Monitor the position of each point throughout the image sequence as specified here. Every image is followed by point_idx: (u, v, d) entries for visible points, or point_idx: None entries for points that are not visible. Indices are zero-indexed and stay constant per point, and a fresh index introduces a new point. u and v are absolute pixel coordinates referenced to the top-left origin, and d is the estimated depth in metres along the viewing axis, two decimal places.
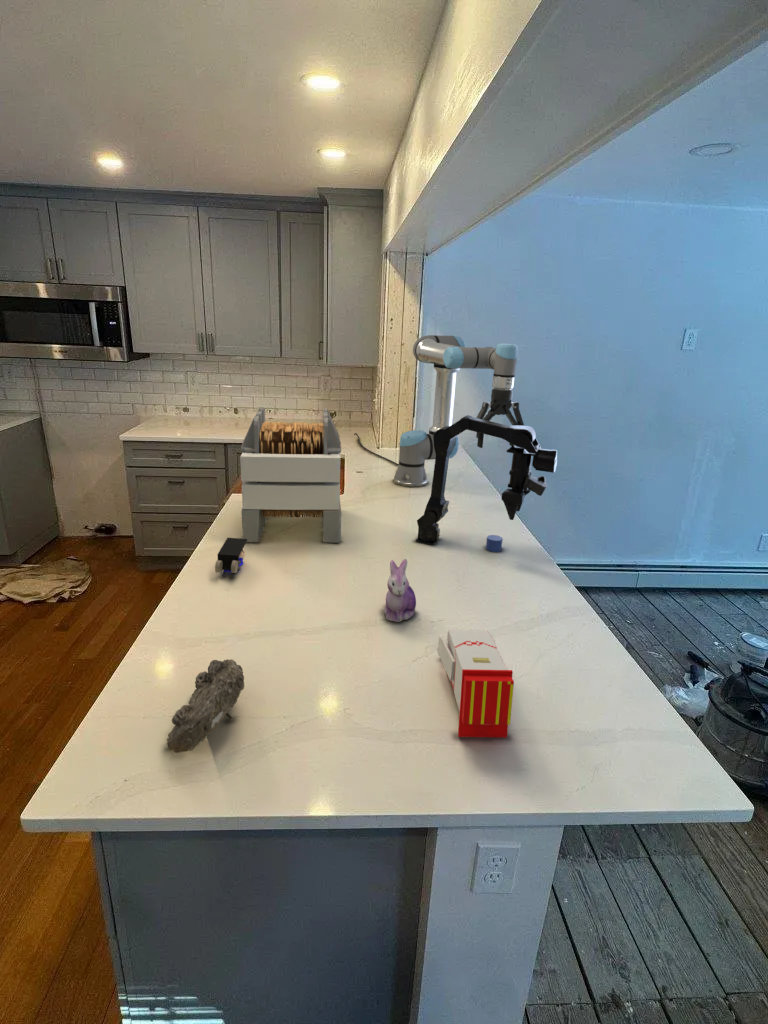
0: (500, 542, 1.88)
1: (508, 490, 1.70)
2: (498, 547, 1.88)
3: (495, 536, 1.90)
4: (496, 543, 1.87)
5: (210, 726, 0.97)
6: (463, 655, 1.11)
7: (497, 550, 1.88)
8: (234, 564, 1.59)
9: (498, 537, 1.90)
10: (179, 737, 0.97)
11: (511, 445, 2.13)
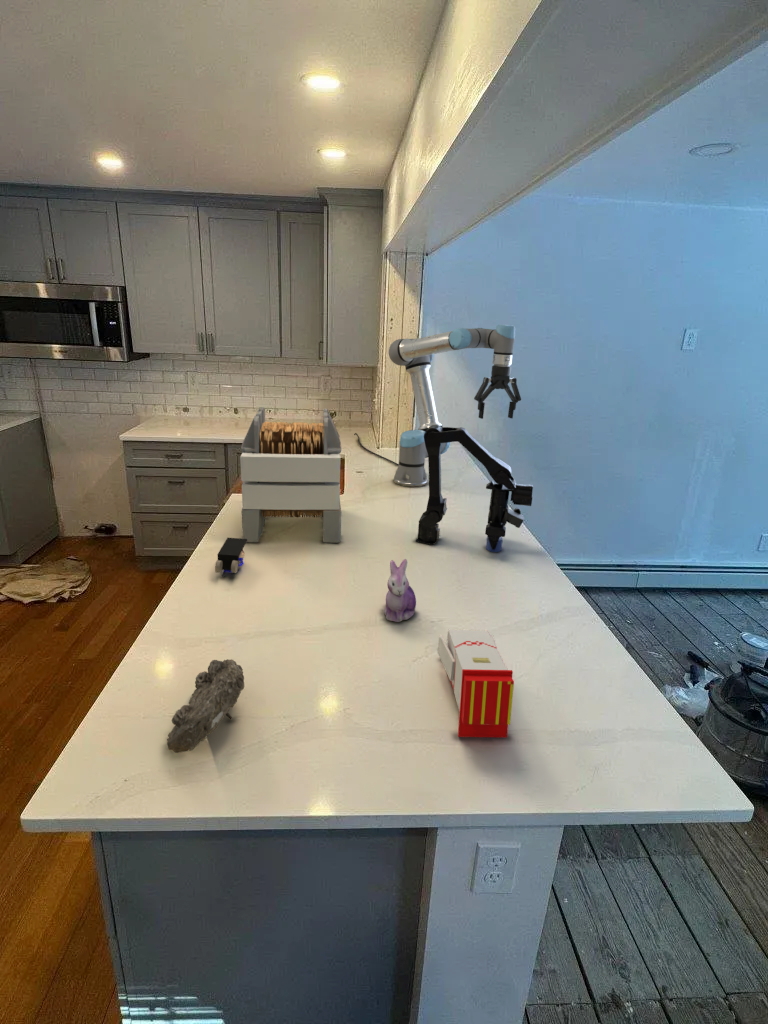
0: (500, 542, 1.88)
1: (491, 525, 1.80)
2: (498, 547, 1.88)
3: None
4: None
5: (210, 726, 0.97)
6: (463, 655, 1.11)
7: (497, 550, 1.88)
8: (234, 564, 1.59)
9: None
10: (179, 737, 0.97)
11: (509, 417, 2.37)
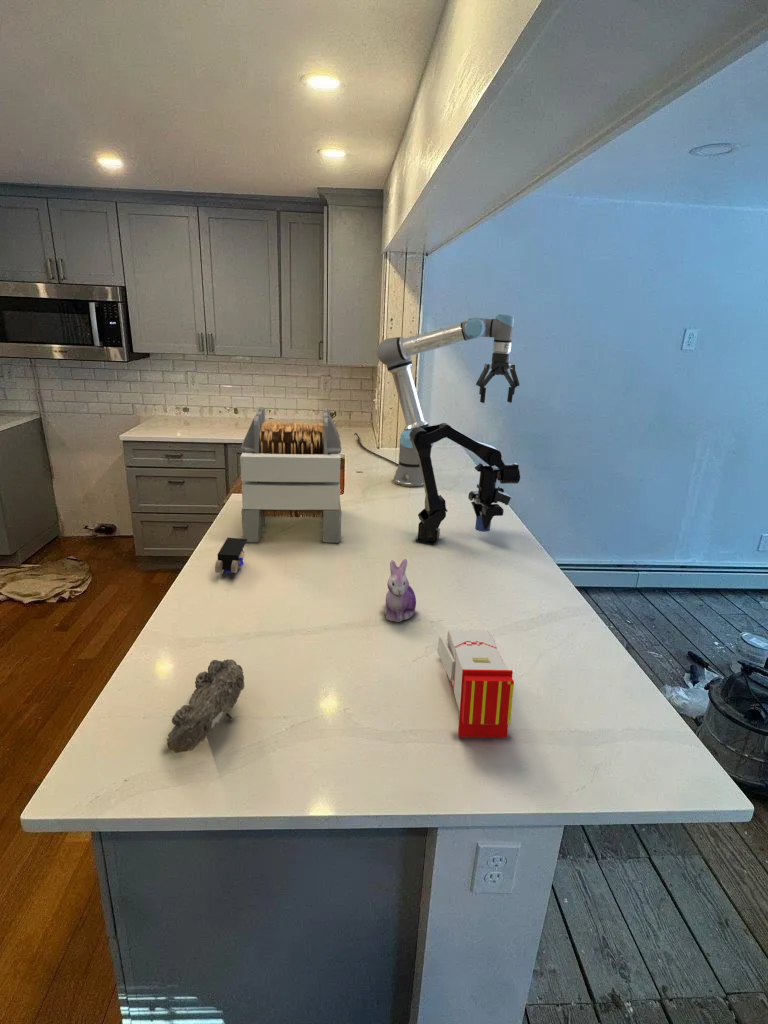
0: None
1: (489, 506, 1.86)
2: (489, 526, 1.95)
3: None
4: None
5: (210, 726, 0.97)
6: (463, 655, 1.11)
7: (488, 529, 1.95)
8: (234, 564, 1.59)
9: None
10: (179, 737, 0.97)
11: (509, 401, 2.52)
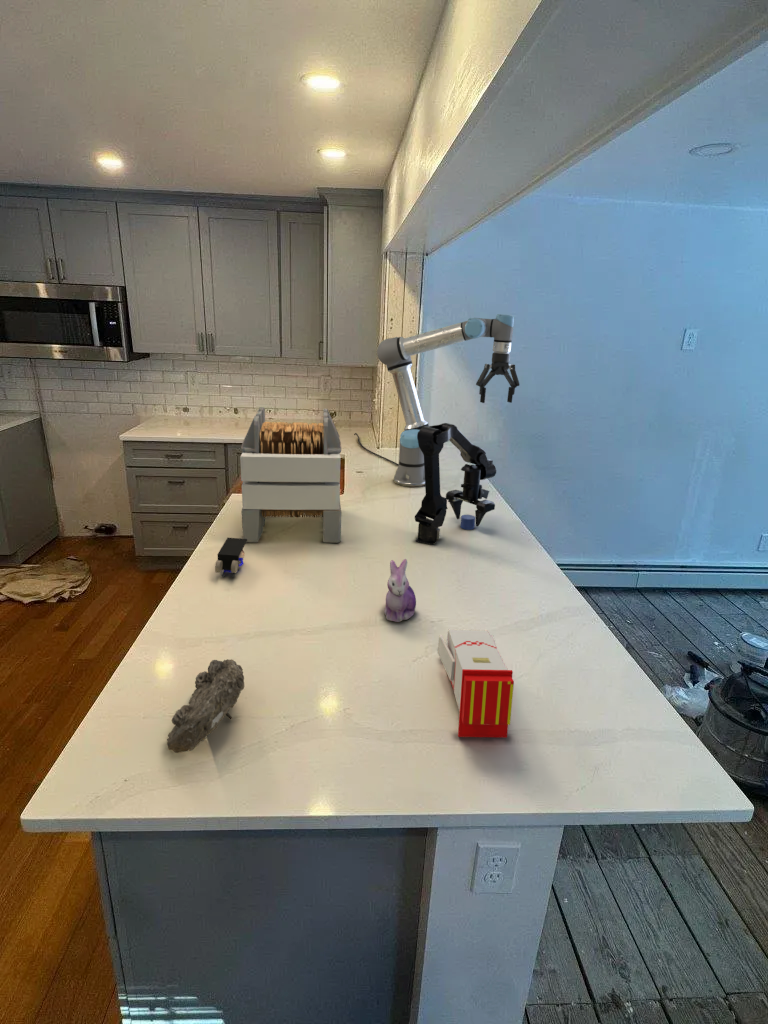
0: None
1: (484, 502, 1.99)
2: (474, 524, 2.08)
3: (466, 515, 2.08)
4: (474, 520, 2.07)
5: (210, 726, 0.97)
6: (463, 655, 1.11)
7: None
8: (234, 564, 1.59)
9: (469, 515, 2.09)
10: (179, 737, 0.97)
11: (509, 401, 2.52)
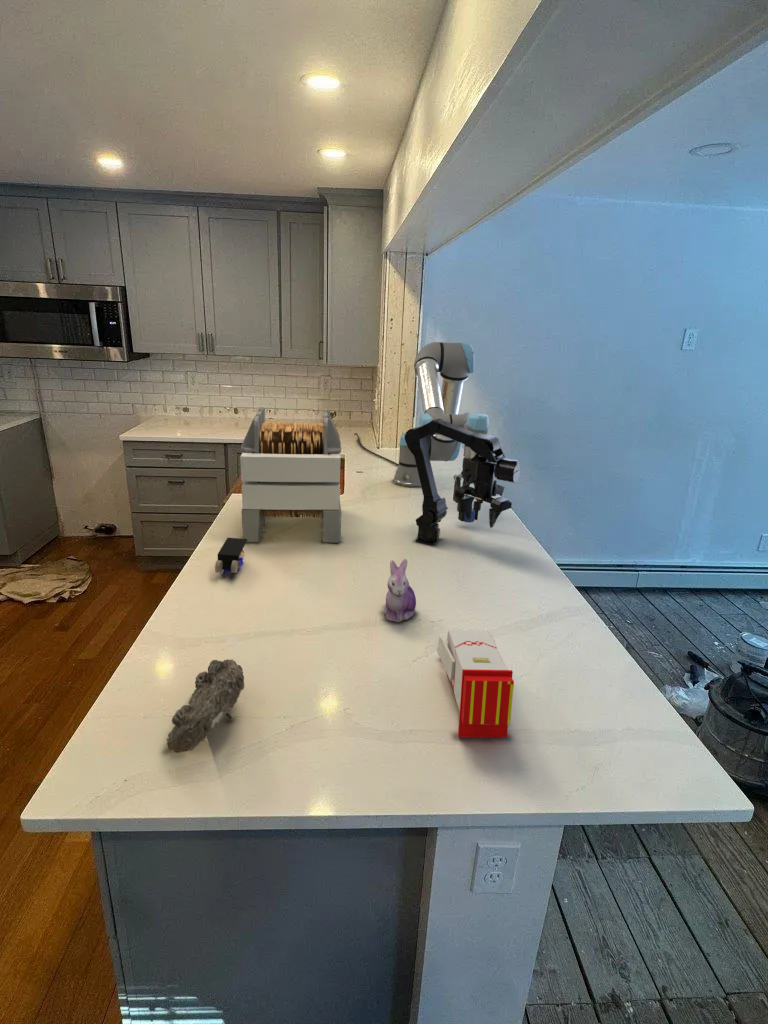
0: None
1: (499, 500, 1.73)
2: (474, 516, 2.07)
3: None
4: (474, 513, 2.06)
5: (210, 726, 0.97)
6: (463, 655, 1.11)
7: (474, 519, 2.07)
8: (234, 564, 1.59)
9: None
10: (179, 737, 0.97)
11: None
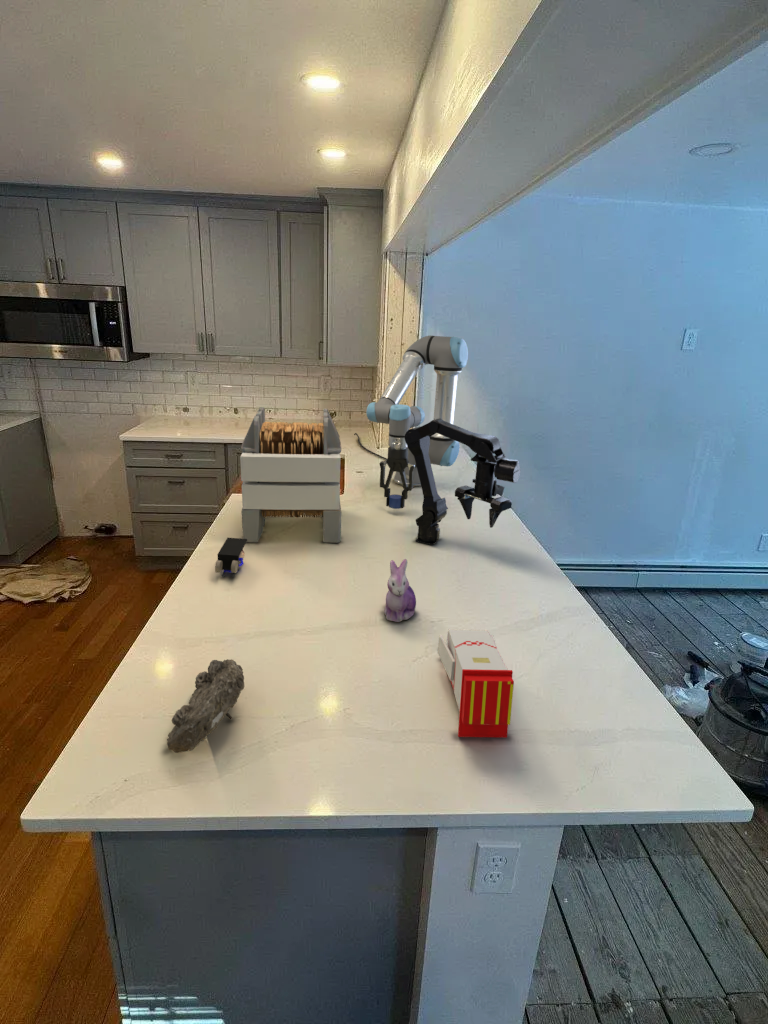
0: None
1: (499, 500, 1.73)
2: (400, 504, 2.17)
3: (395, 495, 2.18)
4: (398, 501, 2.16)
5: (210, 726, 0.97)
6: (463, 655, 1.11)
7: (399, 507, 2.17)
8: (234, 564, 1.59)
9: (398, 495, 2.18)
10: (179, 737, 0.97)
11: None
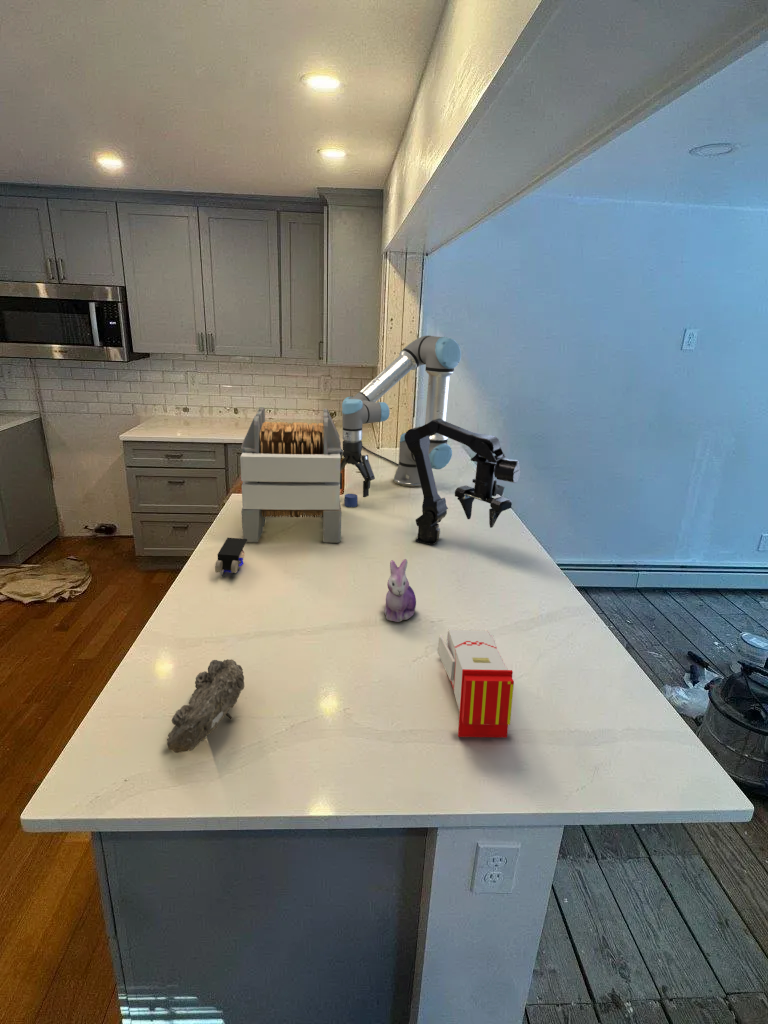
0: (354, 499, 2.23)
1: (499, 500, 1.73)
2: (353, 503, 2.24)
3: (352, 494, 2.26)
4: (351, 500, 2.23)
5: (210, 726, 0.97)
6: (463, 655, 1.11)
7: (352, 506, 2.24)
8: (234, 564, 1.59)
9: (354, 495, 2.25)
10: (179, 737, 0.97)
11: None
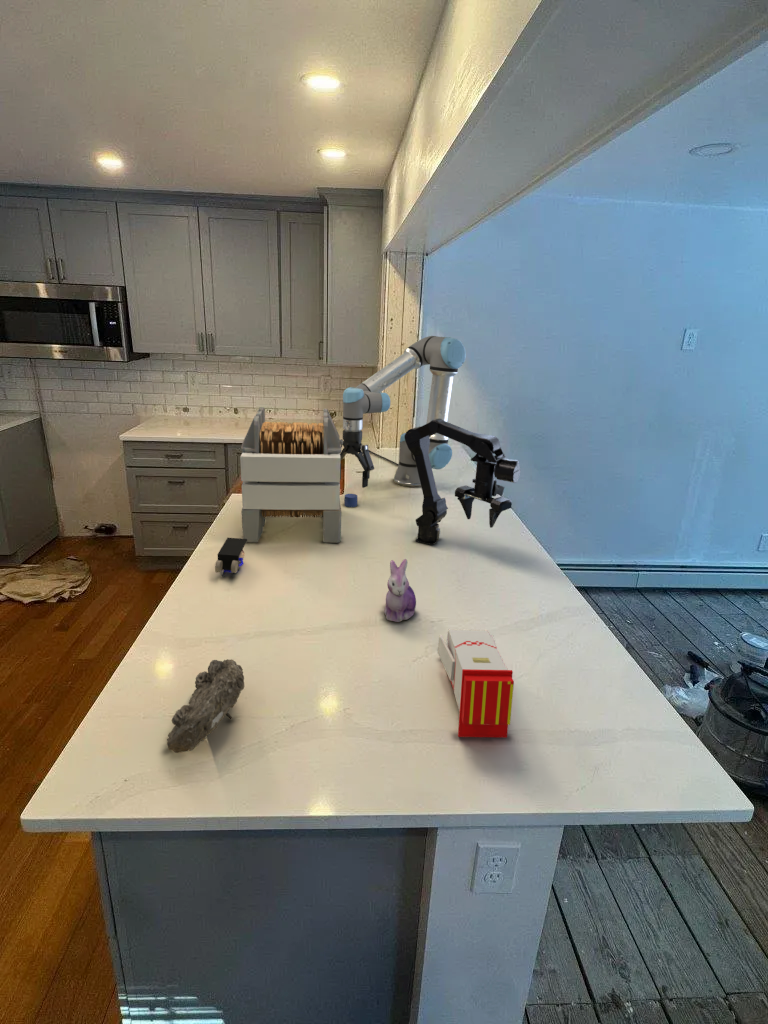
0: (354, 499, 2.23)
1: (499, 500, 1.73)
2: (353, 503, 2.24)
3: (352, 494, 2.26)
4: (351, 500, 2.23)
5: (210, 726, 0.97)
6: (463, 655, 1.11)
7: (352, 506, 2.24)
8: (234, 564, 1.59)
9: (354, 495, 2.25)
10: (179, 737, 0.97)
11: None
